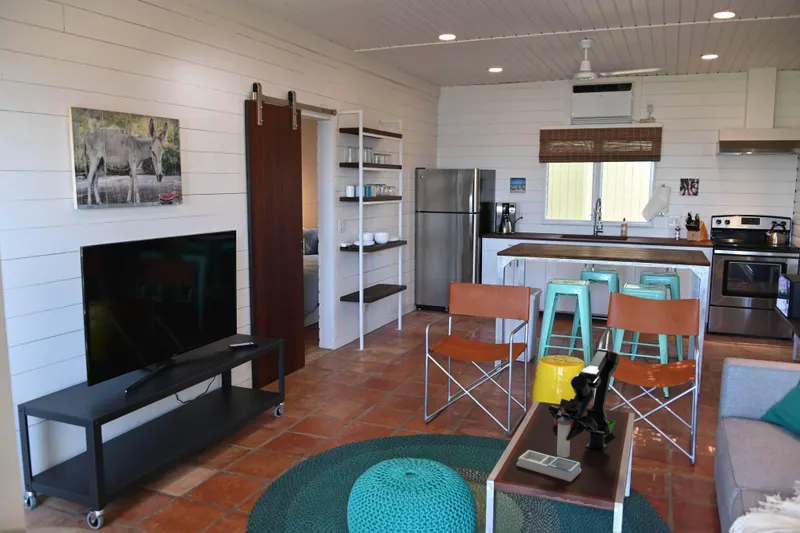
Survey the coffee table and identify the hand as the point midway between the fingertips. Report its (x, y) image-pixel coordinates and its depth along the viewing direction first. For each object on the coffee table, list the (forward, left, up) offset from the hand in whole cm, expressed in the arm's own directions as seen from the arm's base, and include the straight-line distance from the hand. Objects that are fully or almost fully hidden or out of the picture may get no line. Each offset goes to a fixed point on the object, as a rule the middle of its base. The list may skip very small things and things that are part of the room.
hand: (561, 438), depth 228 cm
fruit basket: (-45, -2, -14) cm, 47 cm away
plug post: (-1, 0, -7) cm, 7 cm away
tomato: (-43, -16, -14) cm, 48 cm away
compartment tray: (-1, -5, -13) cm, 14 cm away
